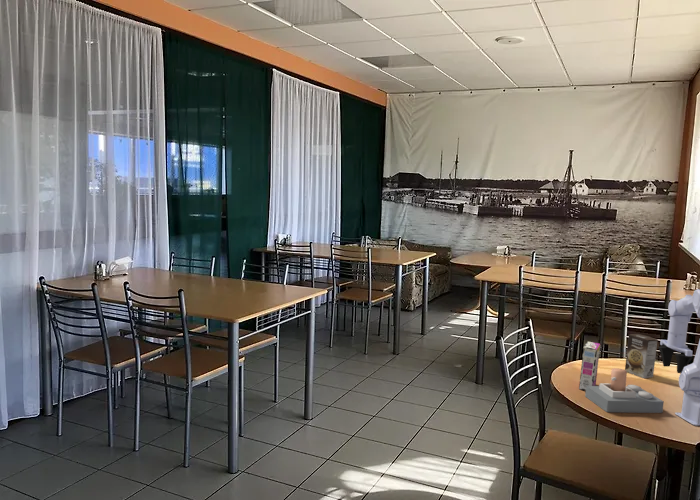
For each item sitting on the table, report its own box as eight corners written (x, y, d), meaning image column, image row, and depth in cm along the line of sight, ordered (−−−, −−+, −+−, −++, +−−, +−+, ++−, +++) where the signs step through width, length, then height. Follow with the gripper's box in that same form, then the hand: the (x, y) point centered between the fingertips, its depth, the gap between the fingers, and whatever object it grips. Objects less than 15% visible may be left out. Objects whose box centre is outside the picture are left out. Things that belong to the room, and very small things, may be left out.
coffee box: (623, 371, 229) (627, 334, 228) (634, 370, 232) (638, 333, 230) (643, 378, 221) (647, 339, 219) (654, 377, 224) (658, 338, 222)
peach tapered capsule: (627, 393, 190) (629, 371, 190) (617, 397, 186) (619, 374, 186) (614, 389, 194) (616, 367, 194) (604, 392, 190) (605, 370, 190)
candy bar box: (593, 392, 202) (597, 349, 200) (578, 389, 204) (582, 347, 203) (596, 384, 211) (600, 343, 210) (582, 381, 214) (586, 340, 212)
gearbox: (662, 412, 185) (664, 395, 185) (606, 412, 184) (608, 394, 183) (637, 397, 199) (639, 381, 199) (585, 396, 197) (586, 380, 197)
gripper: (702, 339, 192) (697, 376, 194) (674, 328, 207) (670, 363, 208) (683, 338, 192) (679, 375, 193) (656, 328, 206) (652, 363, 207)
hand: (673, 369), depth 200 cm, fingers open, 7 cm apart
